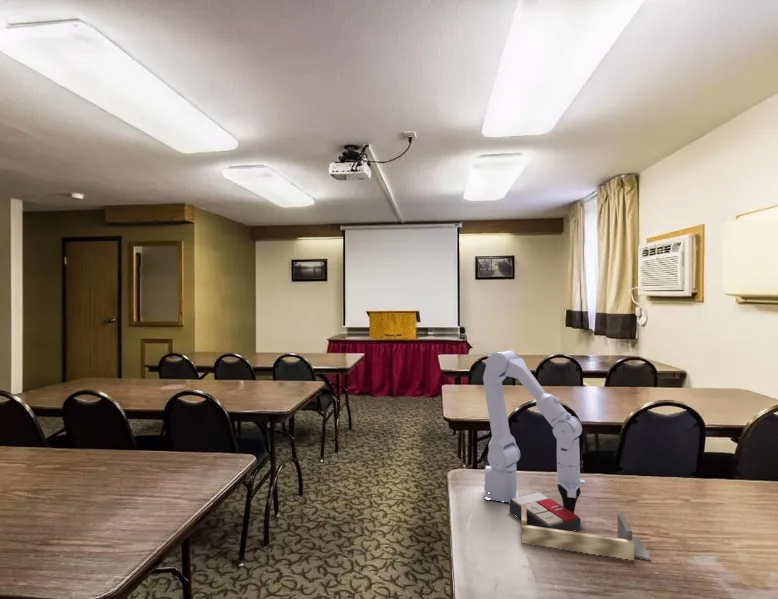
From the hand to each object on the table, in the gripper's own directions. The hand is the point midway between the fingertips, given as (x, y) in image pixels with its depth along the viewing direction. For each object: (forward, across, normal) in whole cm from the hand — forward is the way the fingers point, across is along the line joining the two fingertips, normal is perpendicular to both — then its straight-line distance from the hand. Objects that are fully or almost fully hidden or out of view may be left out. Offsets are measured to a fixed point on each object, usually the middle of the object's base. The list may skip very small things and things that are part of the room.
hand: (569, 513), depth 114 cm
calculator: (+2, -3, +7) cm, 7 cm away
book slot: (+2, -11, -1) cm, 11 cm away
